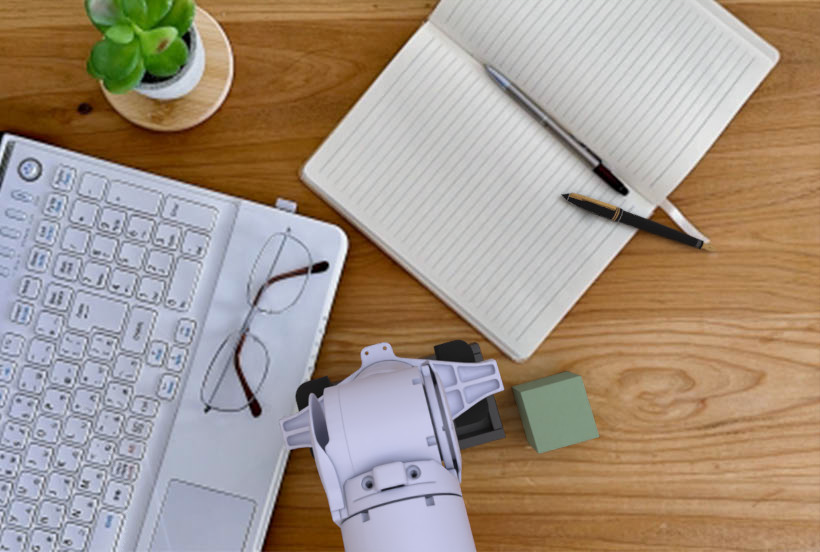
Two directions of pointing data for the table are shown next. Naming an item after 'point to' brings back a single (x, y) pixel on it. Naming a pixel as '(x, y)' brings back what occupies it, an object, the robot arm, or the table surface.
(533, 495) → the table surface
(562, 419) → the green block
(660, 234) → the fountain pen
